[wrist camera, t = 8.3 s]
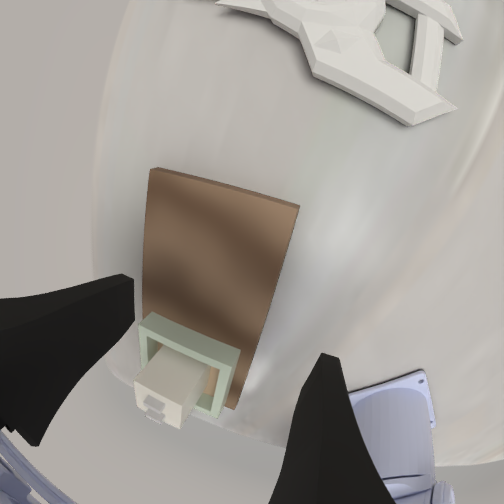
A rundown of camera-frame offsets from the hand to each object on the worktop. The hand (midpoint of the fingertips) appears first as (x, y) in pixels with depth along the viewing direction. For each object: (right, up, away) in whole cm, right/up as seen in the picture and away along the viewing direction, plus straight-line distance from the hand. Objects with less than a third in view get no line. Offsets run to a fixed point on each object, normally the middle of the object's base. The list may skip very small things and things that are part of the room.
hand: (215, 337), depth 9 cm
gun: (+6, +18, +2) cm, 19 cm away
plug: (-4, -7, +13) cm, 15 cm away
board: (-3, -2, +12) cm, 13 cm away
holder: (-4, -6, +14) cm, 16 cm away
